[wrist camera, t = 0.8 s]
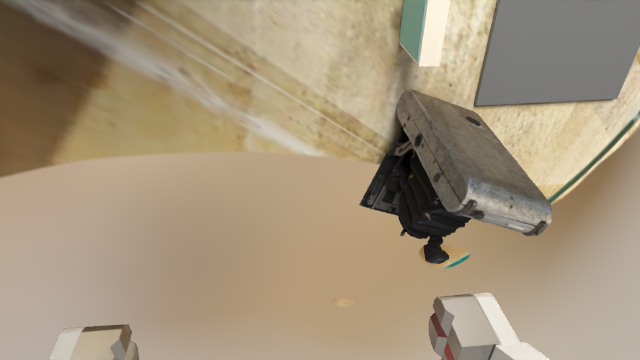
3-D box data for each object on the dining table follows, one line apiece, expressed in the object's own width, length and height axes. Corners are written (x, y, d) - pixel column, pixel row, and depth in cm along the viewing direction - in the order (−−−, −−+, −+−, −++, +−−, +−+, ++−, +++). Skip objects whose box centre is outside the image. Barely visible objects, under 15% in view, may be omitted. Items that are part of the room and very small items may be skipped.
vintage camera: (348, 184, 57) (384, 312, 42) (405, 81, 49) (477, 190, 34) (411, 201, 61) (466, 325, 45) (474, 106, 52) (569, 217, 37)
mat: (524, -121, 39) (528, -121, 39) (704, -120, 41) (710, -120, 41) (474, 103, 52) (476, 105, 52) (613, 96, 54) (617, 98, 53)
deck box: (405, -29, 43) (429, -14, 37) (426, -29, 43) (452, -14, 37) (398, 43, 47) (417, 66, 41) (417, 42, 47) (439, 65, 41)
